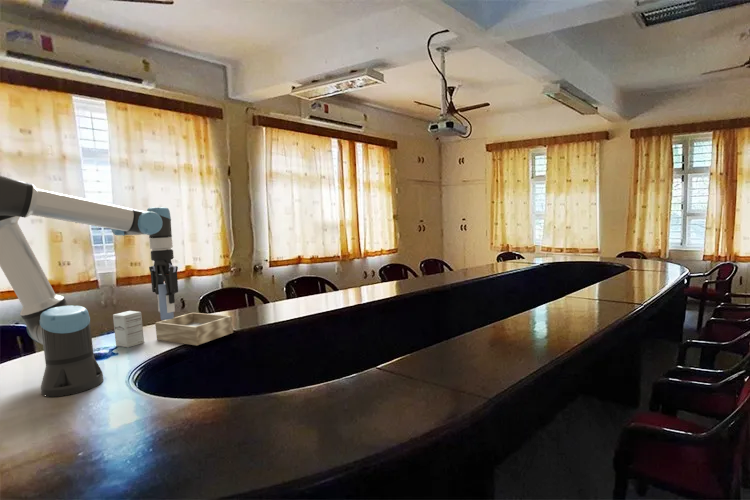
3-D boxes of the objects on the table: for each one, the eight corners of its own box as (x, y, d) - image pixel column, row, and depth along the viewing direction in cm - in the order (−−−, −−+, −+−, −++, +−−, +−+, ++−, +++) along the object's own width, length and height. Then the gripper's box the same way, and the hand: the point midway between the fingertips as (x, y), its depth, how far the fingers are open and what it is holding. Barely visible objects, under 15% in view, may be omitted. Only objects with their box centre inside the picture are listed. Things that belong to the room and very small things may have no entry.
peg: (165, 320, 159) (163, 285, 158) (158, 319, 161) (155, 284, 161) (176, 317, 163) (173, 283, 162) (168, 316, 165) (166, 283, 164)
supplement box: (115, 346, 170) (111, 314, 169) (133, 340, 176) (130, 310, 175) (127, 348, 166) (123, 315, 165) (145, 342, 173) (141, 311, 172)
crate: (196, 345, 164) (195, 327, 164) (156, 339, 176) (155, 322, 175) (233, 332, 180) (231, 316, 179) (194, 328, 191) (192, 312, 191)
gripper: (186, 248, 159) (190, 310, 161) (156, 248, 168) (161, 308, 170) (167, 250, 153) (172, 315, 155) (137, 250, 161) (142, 312, 163)
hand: (166, 311), depth 162 cm, fingers closed on peg, 4 cm apart
